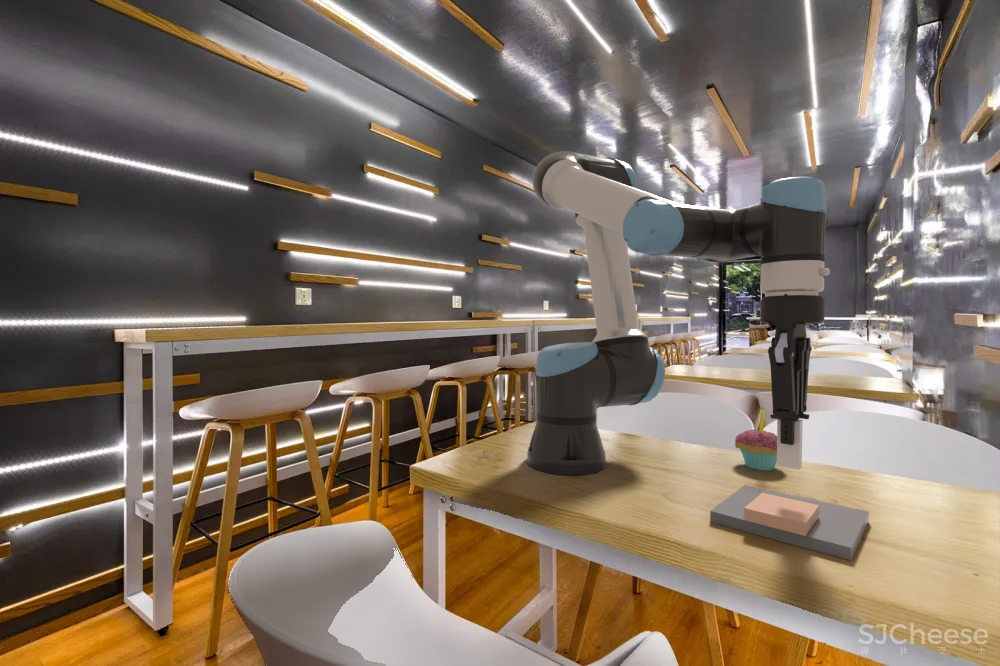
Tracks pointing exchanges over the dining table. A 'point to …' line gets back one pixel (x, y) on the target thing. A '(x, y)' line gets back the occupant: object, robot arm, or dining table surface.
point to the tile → (782, 513)
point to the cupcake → (758, 447)
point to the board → (828, 535)
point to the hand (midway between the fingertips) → (789, 466)
